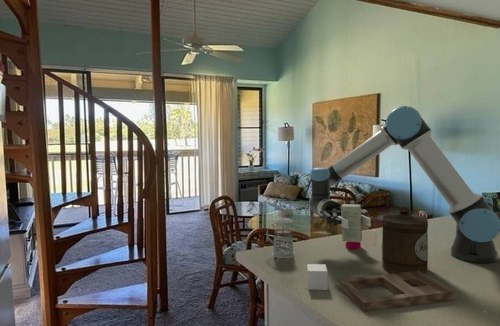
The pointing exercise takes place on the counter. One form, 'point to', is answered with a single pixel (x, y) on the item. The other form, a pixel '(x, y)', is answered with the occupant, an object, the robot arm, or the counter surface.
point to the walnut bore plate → (397, 290)
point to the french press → (282, 238)
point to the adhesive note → (317, 276)
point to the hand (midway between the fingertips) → (358, 223)
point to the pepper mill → (353, 244)
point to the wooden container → (405, 242)
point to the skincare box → (352, 222)
